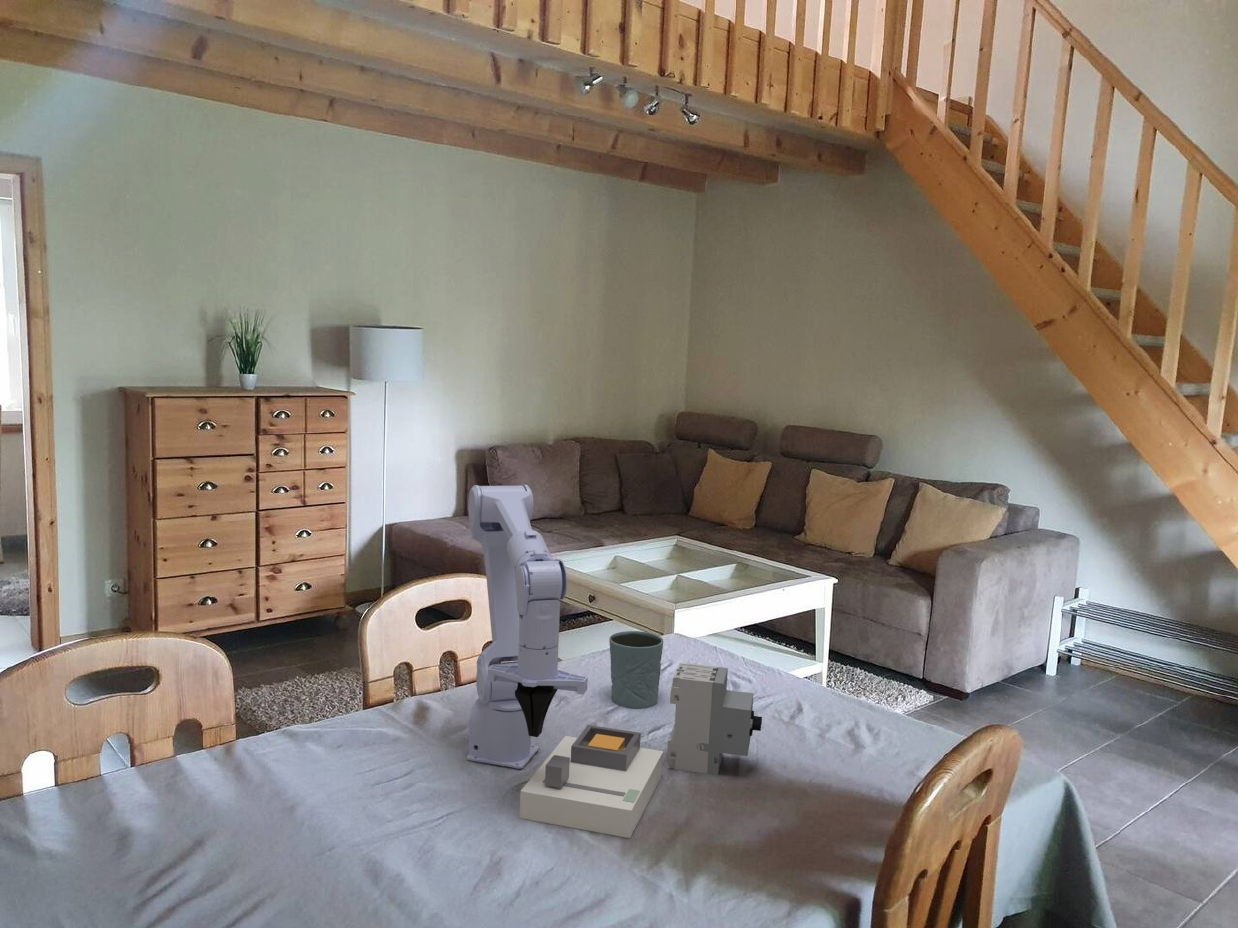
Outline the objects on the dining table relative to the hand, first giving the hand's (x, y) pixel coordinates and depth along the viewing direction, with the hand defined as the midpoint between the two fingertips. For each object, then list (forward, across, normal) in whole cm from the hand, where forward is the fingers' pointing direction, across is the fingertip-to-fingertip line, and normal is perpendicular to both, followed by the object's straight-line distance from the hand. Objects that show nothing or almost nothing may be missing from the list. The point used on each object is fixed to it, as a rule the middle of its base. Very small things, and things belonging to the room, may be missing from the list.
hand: (535, 733), depth 138 cm
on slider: (+6, +4, -2) cm, 7 cm away
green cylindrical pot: (+10, +5, +43) cm, 44 cm away
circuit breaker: (+10, +24, +21) cm, 33 cm away
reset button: (+6, +8, +9) cm, 14 cm away
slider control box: (+10, +8, +4) cm, 13 cm away
